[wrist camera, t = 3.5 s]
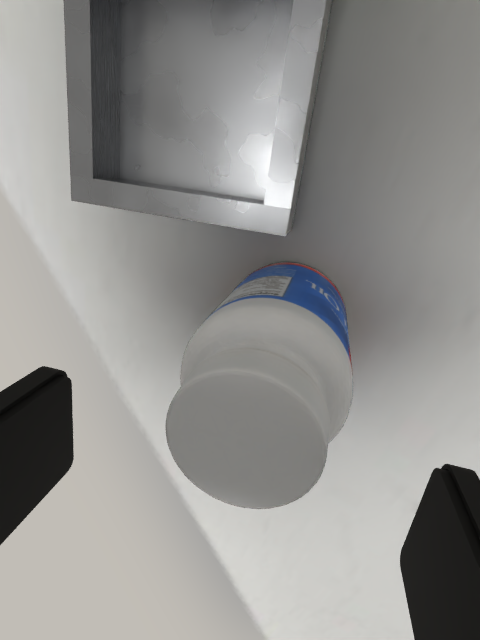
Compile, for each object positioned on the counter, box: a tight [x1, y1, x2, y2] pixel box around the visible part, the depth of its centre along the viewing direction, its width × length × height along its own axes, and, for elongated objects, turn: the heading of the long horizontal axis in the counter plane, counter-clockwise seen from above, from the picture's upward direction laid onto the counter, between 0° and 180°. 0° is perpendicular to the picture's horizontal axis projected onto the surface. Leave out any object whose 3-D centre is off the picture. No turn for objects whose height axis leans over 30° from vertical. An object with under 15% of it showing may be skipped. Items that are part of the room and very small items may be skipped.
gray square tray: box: [64, 0, 333, 236], centre depth 13 cm, size 9×9×4 cm
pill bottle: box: [166, 262, 353, 509], centre depth 13 cm, size 6×5×10 cm
